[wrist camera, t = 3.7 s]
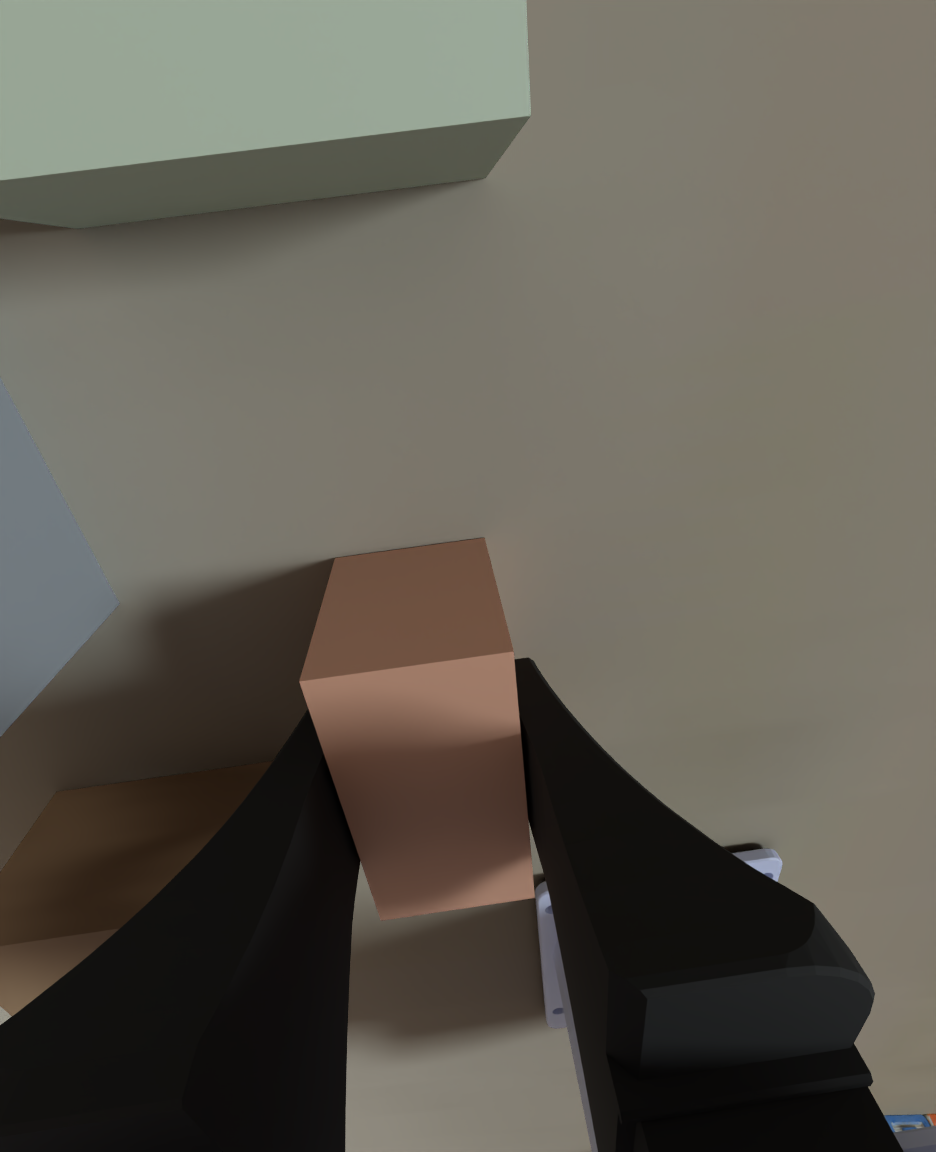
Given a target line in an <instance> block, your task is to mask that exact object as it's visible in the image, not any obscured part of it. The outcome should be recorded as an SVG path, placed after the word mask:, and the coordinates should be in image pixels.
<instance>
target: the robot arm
mask: <svg viewBox="0 0 936 1152" xmlns="http://www.w3.org/2000/svg"><path fill="white" fill-rule="evenodd" d="M514 661H515V673H516V684H517V696H518V707H519V719H520V731H521V742H522V754H523V765H524V777H525V789H526V800H527V812H528V820H529V823H530V827H531V830H532V834H533V837H534V841H535V844H536V848H537V851H538V855H539V858H540V862H541V865H542V869H543V872H544V876H545V880H546V881H544V882H542V883H541V884H539V885H538V887H537V888H536V890H535V898H536V910H537V922H538V933H539V945H540V957H541V969H542V981H543V992H544V1004H545V1015H546V1021H547V1024H548V1026H549V1027H551V1028H564V1027H567V1029H568V1034H569V1039H570V1044H571V1049H572V1054H573V1059H574V1064H575V1069H576V1074H577V1079H578V1084H579V1089H580V1094H581V1099H582V1104H583V1109H584V1114H585V1119H586V1124H587V1129H588V1134H589V1139H590V1144H591V1149H592V1152H936V1126H930V1127H924V1128H917V1129H911V1130H905V1131H898V1132H893V1131H892V1130H891V1128H890V1126H889V1124H888V1122H887V1121H886V1119H885V1117H884V1115H883V1113H882V1112H881V1110H880V1108H879V1106H878V1104H877V1103H876V1101H875V1099H874V1097H873V1095H872V1094H871V1092H870V1090H869V1088H868V1086H871V1084H872V1083H873V1080H872V1076H871V1073H870V1071H869V1069H868V1067H867V1066H866V1064H865V1062H864V1060H863V1059H862V1057H861V1055H860V1053H859V1052H858V1050H857V1048H856V1046H855V1045H854V1042H855V1040H856V1038H857V1036H858V1034H859V1032H860V1031H861V1029H862V1027H863V1025H864V1023H865V1021H866V1020H867V1018H868V1016H869V1014H870V1011H871V1008H872V1004H873V1000H874V995H875V993H874V990H873V987H872V984H871V981H870V980H869V978H868V977H867V975H866V974H865V972H864V970H863V969H862V967H861V966H860V964H859V963H858V961H857V960H856V958H855V956H854V955H853V953H852V952H851V951H850V949H849V948H848V946H847V945H846V944H845V943H844V941H843V940H842V939H841V937H840V936H839V935H838V933H837V932H836V931H835V930H834V928H833V927H832V926H831V924H830V923H829V922H828V921H827V919H826V918H825V917H824V916H823V914H822V913H821V912H820V911H819V909H818V908H817V907H816V906H815V904H814V903H812V902H810V901H809V900H807V899H805V898H804V897H802V896H800V895H799V894H797V893H795V892H793V891H792V890H790V889H788V888H787V887H785V886H783V885H782V884H780V883H778V882H777V881H778V878H779V875H780V871H781V868H782V860H781V859H780V857H779V856H778V854H777V853H776V851H775V850H772V849H769V848H765V849H757V850H750V851H743V852H736V853H730V852H729V851H727V850H726V849H724V848H723V847H721V846H720V845H718V844H717V843H715V842H714V841H713V840H711V839H710V838H709V837H707V836H706V835H705V834H703V833H702V832H701V831H699V830H698V829H697V828H695V827H694V826H693V825H691V824H690V823H688V822H687V821H686V820H684V819H683V818H682V817H680V816H679V815H678V814H676V813H675V812H674V811H672V810H671V809H670V808H668V807H667V806H666V805H665V804H663V803H662V802H661V801H660V800H659V799H657V798H656V797H655V796H654V795H653V794H651V793H650V792H649V791H648V790H647V789H645V788H644V787H643V786H642V785H641V784H640V783H639V782H638V781H636V780H635V779H634V778H633V777H632V776H631V775H630V774H629V773H627V772H626V771H625V770H624V769H623V768H622V767H621V766H620V765H619V764H618V763H617V762H616V761H615V760H614V759H613V758H612V757H611V756H610V755H609V754H608V753H607V752H606V751H605V750H604V749H603V748H602V747H601V746H600V745H599V744H598V743H597V742H596V741H595V740H594V739H593V738H592V737H591V735H590V734H589V733H588V732H587V731H586V730H585V729H584V728H583V727H582V725H581V724H580V723H579V722H578V721H577V720H576V718H575V717H574V716H573V715H572V714H571V712H570V711H569V710H568V709H567V708H566V707H565V705H564V704H563V703H562V701H561V700H560V699H559V698H558V696H557V695H556V694H555V692H554V691H553V690H552V688H551V687H550V686H549V684H548V683H547V681H546V680H545V678H544V677H543V676H542V674H541V672H540V671H539V669H538V668H537V666H536V664H535V662H534V661H533V660H531V659H530V658H522V659H515V660H514ZM359 866H360V858H359V855H358V852H357V849H356V846H355V843H354V840H353V837H352V834H351V831H350V828H349V826H348V823H347V820H346V817H345V814H344V811H343V808H342V805H341V802H340V799H339V796H338V793H337V790H336V788H335V785H334V782H333V779H332V776H331V773H330V770H329V767H328V764H327V761H326V758H325V755H324V753H323V750H322V747H321V744H320V741H319V738H318V735H317V732H316V729H315V726H314V723H313V720H312V718H311V715H310V712H309V709H308V710H307V711H306V713H305V715H304V716H303V718H302V719H301V721H300V722H299V724H298V725H297V727H296V728H295V730H294V731H293V733H292V734H291V736H290V737H289V739H288V740H287V742H286V743H285V745H284V746H283V748H282V749H281V750H280V752H279V753H278V755H277V756H276V758H275V759H274V761H273V762H272V763H271V765H270V766H269V768H268V769H267V770H266V772H265V773H264V774H263V776H262V777H261V778H260V780H259V781H258V782H257V783H256V785H255V786H254V787H253V789H252V790H251V791H250V793H249V794H248V795H247V797H246V798H245V799H244V800H243V802H242V803H241V804H240V805H239V807H238V808H237V809H236V810H235V812H234V813H233V814H232V815H231V816H230V818H229V819H228V820H227V821H226V822H225V824H224V825H223V826H222V827H221V828H220V829H219V830H218V832H217V833H216V834H215V835H214V836H213V837H212V838H211V839H210V841H209V842H208V843H207V844H206V845H205V846H204V847H203V848H202V849H201V851H200V852H199V853H198V854H197V855H196V856H195V857H194V858H193V859H192V860H191V861H190V862H189V863H188V864H187V865H186V866H185V867H184V868H183V869H182V870H181V871H180V872H179V873H178V874H177V875H176V876H175V877H174V878H173V879H172V880H171V881H170V882H169V883H168V884H167V885H166V886H165V887H164V888H163V889H162V890H161V891H160V892H159V893H158V894H157V895H156V896H155V897H154V898H153V899H152V900H151V901H150V902H148V903H147V904H146V905H145V906H144V907H143V908H142V909H141V910H140V911H139V912H138V913H136V914H135V915H134V916H133V917H132V918H131V919H130V920H129V921H128V922H127V923H125V924H124V925H123V926H122V927H121V928H120V929H119V930H118V931H116V932H115V933H114V934H113V935H112V936H111V937H109V938H108V939H107V940H106V941H105V942H104V943H103V944H101V945H100V946H99V947H98V948H97V949H96V950H94V951H93V952H92V953H91V954H90V955H89V956H87V957H86V958H85V959H84V960H83V961H81V962H80V963H79V964H78V965H77V966H75V967H74V968H73V969H72V970H70V971H69V972H68V973H67V974H65V975H64V976H63V977H61V978H60V979H59V980H58V981H56V982H55V983H54V984H53V985H51V986H50V987H49V988H48V989H46V990H45V991H44V992H43V993H41V994H40V995H39V996H38V997H36V998H35V999H34V1000H32V1001H31V1002H30V1003H29V1004H27V1005H26V1006H25V1007H24V1008H22V1009H21V1010H20V1011H19V1012H17V1013H16V1014H15V1015H13V1016H12V1017H11V1018H9V1019H8V1020H7V1021H5V1022H4V1023H3V1024H1V1025H0V1152H345V1107H346V1063H347V1026H348V1000H349V974H350V955H351V935H352V920H353V911H354V901H355V894H356V887H357V880H358V873H359Z"/></svg>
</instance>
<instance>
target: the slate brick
mask: <svg viewBox="0 0 936 1152" xmlns="http://www.w3.org/2000/svg"><path fill="white" fill-rule="evenodd" d="M119 604H120V603H119V602H118V600H117V598H116V596H115V594H114V592H113V590H112V588H111V586H110V584H109V583H108V581H107V579H106V577H105V575H104V573H103V571H102V569H101V567H100V566H99V564H98V562H97V560H96V558H95V556H94V554H93V552H92V550H91V548H90V547H89V545H88V543H87V541H86V539H85V537H84V535H83V533H82V531H81V530H80V528H79V526H78V524H77V522H76V520H75V518H74V516H73V514H72V512H71V511H70V509H69V507H68V505H67V503H66V501H65V499H64V497H63V495H62V494H61V492H60V490H59V488H58V486H57V484H56V482H55V480H54V478H53V476H52V475H51V473H50V471H49V469H48V467H47V465H46V463H45V461H44V459H43V458H42V456H41V454H40V452H39V450H38V448H37V446H36V444H35V442H34V440H33V439H32V437H31V435H30V433H29V431H28V429H27V427H26V425H25V423H24V421H23V420H22V418H21V416H20V414H19V412H18V410H17V408H16V406H15V404H14V403H13V401H12V399H11V397H10V395H9V393H8V391H7V389H6V387H5V385H4V384H3V382H2V380H1V378H0V737H1V736H2V735H3V733H4V732H5V731H6V730H7V729H8V728H9V727H10V726H11V725H12V723H13V722H14V721H15V720H16V719H17V718H18V717H19V716H20V714H21V713H22V712H23V711H24V710H25V709H26V708H27V707H28V706H29V704H30V703H31V702H32V701H33V700H34V699H35V698H36V697H37V696H38V694H39V693H40V692H41V691H42V690H43V689H44V688H45V687H46V685H47V684H48V683H49V682H50V681H51V680H52V679H53V678H54V677H55V675H56V674H57V673H58V672H59V671H60V670H61V669H62V668H63V667H64V665H65V664H66V663H67V662H68V661H69V660H70V659H71V658H72V656H73V655H74V654H75V653H76V652H77V651H78V650H79V649H80V648H81V646H82V645H83V644H84V643H85V642H86V641H87V640H88V639H89V637H90V636H91V635H92V634H93V633H94V632H95V631H96V630H97V629H98V627H99V626H100V625H101V624H102V623H103V622H104V621H105V620H106V619H107V617H108V616H109V615H110V614H111V613H112V612H113V611H114V610H115V608H116V607H117V606H118V605H119Z"/></svg>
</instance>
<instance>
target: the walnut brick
mask: <svg viewBox="0 0 936 1152" xmlns="http://www.w3.org/2000/svg"><path fill="white" fill-rule="evenodd" d="M272 762H273V761H269V762H262V763H255V764H248V765H241V766H234V767H227V768H220V769H213V770H206V771H199V772H192V773H185V774H178V775H171V776H164V777H157V778H150V779H143V780H136V781H129V782H122V783H115V784H108V785H101V786H94V787H87V788H80V789H73V790H66V791H59V792H56V793H55V795H54V796H53V797H52V799H51V800H50V802H49V803H48V805H47V806H46V807H45V809H44V810H43V812H42V813H41V815H40V816H39V818H38V819H37V820H36V822H35V823H34V825H33V826H32V828H31V829H30V830H29V832H28V833H27V835H26V836H25V838H24V839H23V840H22V842H21V843H20V845H19V846H18V848H17V849H16V850H15V852H14V853H13V855H12V856H11V858H10V859H9V860H8V862H7V863H6V865H5V866H4V868H3V869H2V870H1V872H0V1006H1V1007H2V1008H3V1009H4V1010H5V1011H7V1012H8V1013H9V1014H10V1015H11V1016H13V1015H15V1014H16V1013H17V1012H19V1011H20V1010H21V1009H22V1008H24V1007H25V1006H26V1005H27V1004H29V1003H30V1002H31V1001H32V1000H34V999H35V998H36V997H38V996H39V995H40V994H41V993H43V992H44V991H45V990H46V989H48V988H49V987H50V986H51V985H53V984H54V983H55V982H56V981H58V980H59V979H60V978H61V977H63V976H64V975H65V974H67V973H68V972H69V971H70V970H72V969H73V968H74V967H75V966H77V965H78V964H79V963H80V962H81V961H83V960H84V959H85V958H86V957H87V956H89V955H90V954H91V953H92V952H93V951H94V950H96V949H97V948H98V947H99V946H100V945H101V944H103V943H104V942H105V941H106V940H107V939H108V938H109V937H111V936H112V935H113V934H114V933H115V932H116V931H118V930H119V929H120V928H121V927H122V926H123V925H124V924H125V923H127V922H128V921H129V920H130V919H131V918H132V917H133V916H134V915H135V914H136V913H138V912H139V911H140V910H141V909H142V908H143V907H144V906H145V905H146V904H147V903H148V902H150V901H151V900H152V899H153V898H154V897H155V896H156V895H157V894H158V893H159V892H160V891H161V890H162V889H163V888H164V887H165V886H166V885H167V884H168V883H169V882H170V881H171V880H172V879H173V878H174V877H175V876H176V875H177V874H178V873H179V872H180V871H181V870H182V869H183V868H184V867H185V866H186V865H187V864H188V863H189V862H190V861H191V860H192V859H193V858H194V857H195V856H196V855H197V854H198V853H199V852H200V851H201V849H202V848H203V847H204V846H205V845H206V844H207V843H208V842H209V841H210V839H211V838H212V837H213V836H214V835H215V834H216V833H217V832H218V830H219V829H220V828H221V827H222V826H223V825H224V824H225V822H226V821H227V820H228V819H229V818H230V816H231V815H232V814H233V813H234V812H235V810H236V809H237V808H238V807H239V805H240V804H241V803H242V802H243V800H244V799H245V798H246V797H247V795H248V794H249V793H250V791H251V790H252V789H253V787H254V786H255V785H256V783H257V782H258V781H259V780H260V778H261V777H262V776H263V774H264V773H265V772H266V770H267V769H268V768H269V766H270V765H271V763H272Z"/></svg>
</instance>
